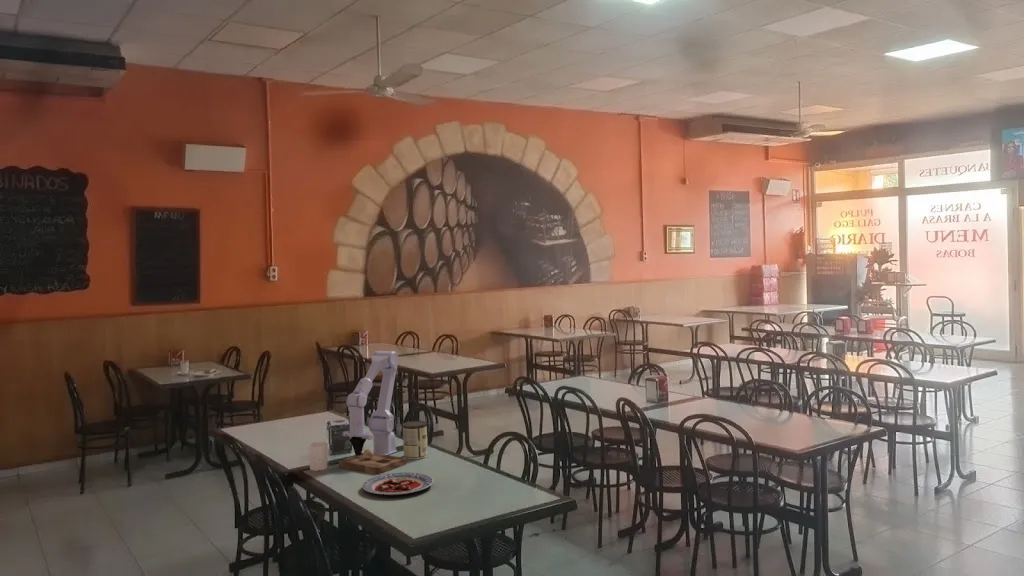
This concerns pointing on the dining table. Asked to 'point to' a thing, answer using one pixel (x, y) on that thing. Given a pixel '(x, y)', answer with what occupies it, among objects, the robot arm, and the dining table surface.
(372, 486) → the ceramic plate
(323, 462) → the white cup
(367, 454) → the ball
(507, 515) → the dining table surface
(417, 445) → the coffee can
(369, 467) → the board
